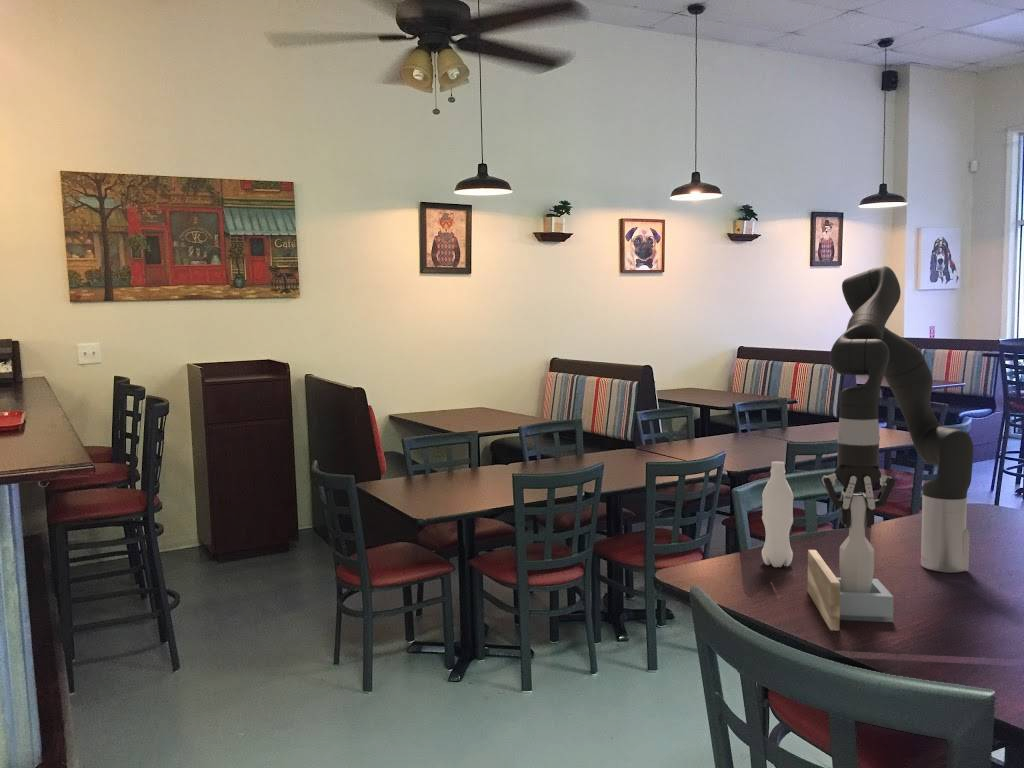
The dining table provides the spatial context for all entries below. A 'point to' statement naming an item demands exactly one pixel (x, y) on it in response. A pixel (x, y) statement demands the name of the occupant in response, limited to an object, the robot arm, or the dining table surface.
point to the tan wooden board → (824, 589)
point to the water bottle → (777, 517)
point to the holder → (867, 604)
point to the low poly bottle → (856, 551)
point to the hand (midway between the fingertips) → (857, 526)
